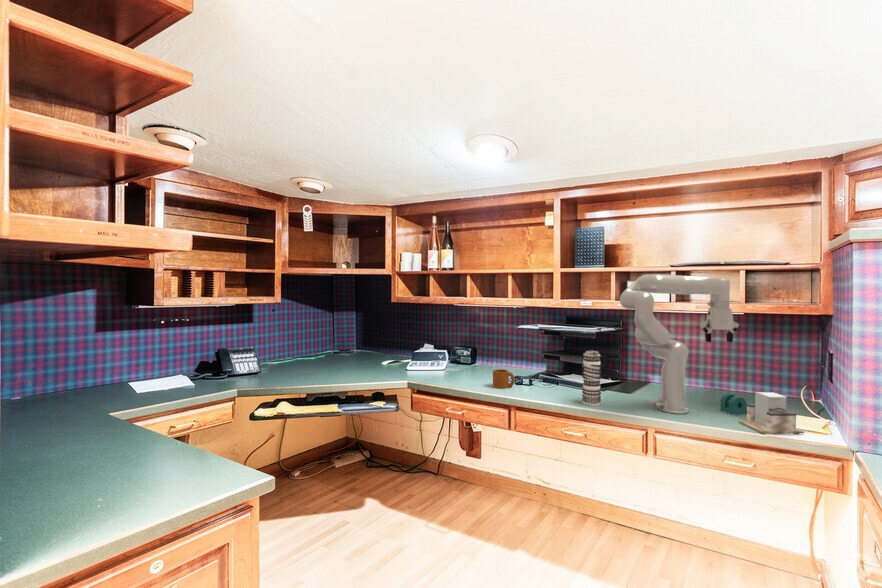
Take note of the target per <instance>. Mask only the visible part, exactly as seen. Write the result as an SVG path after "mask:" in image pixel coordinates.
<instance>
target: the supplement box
mask: <svg viewBox="0 0 882 588" xmlns="http://www.w3.org/2000/svg"><path fill="white" fill-rule="evenodd" d="M754 394H755V397H754V399H755V401H754V404H755V423H757V424H759V425H761V426H763V427H765V428H767V412H787V399H788V398H787V396H785V395H782V394H780V393H776V392H774V391H773V392H765V391H762V392H760V391H759V392H758V391H756V392H755V393H754Z"/></svg>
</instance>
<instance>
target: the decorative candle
mask: <svg viewBox="0 0 882 588" xmlns="http://www.w3.org/2000/svg"><path fill="white" fill-rule="evenodd" d="M582 355H583V359H582V360H583V361H582V364H581V367H582V368H581V370H582V372H581V374H582V376H581V377H582V379H583V384H582V388H581V389H582V391H581V392H582V395H581V400H582V402H581V403H582V404H584V405H588V406H600V405H601V403H602V396H601V395H602V392H601V391H602V389H601V380H602V377H601V375H602V374H603V373H602V369H601V368H602V367H603V365H602V362H601V354H600V353H599V351H597V350H585V352H584V353H583V354H582Z"/></svg>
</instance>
